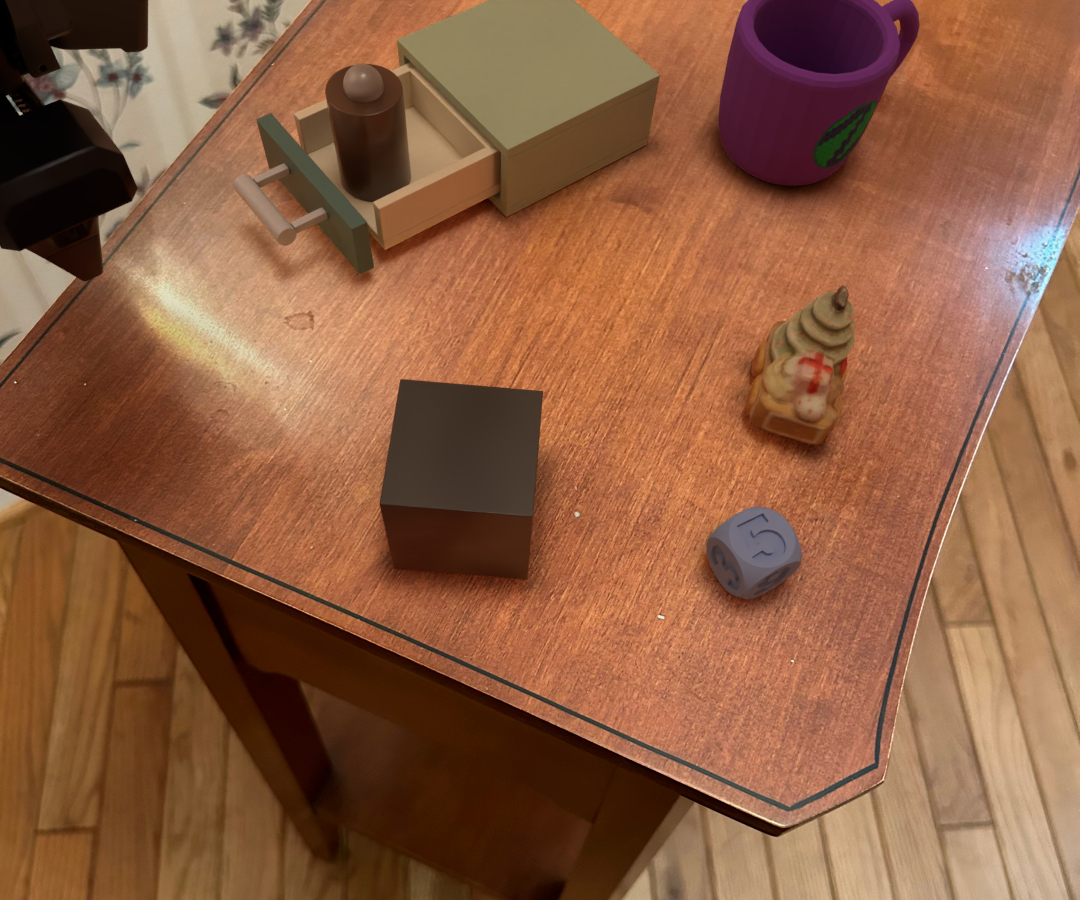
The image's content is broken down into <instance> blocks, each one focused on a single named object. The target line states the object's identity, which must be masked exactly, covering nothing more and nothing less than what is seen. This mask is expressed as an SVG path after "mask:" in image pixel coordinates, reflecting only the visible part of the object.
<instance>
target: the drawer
mask: <svg viewBox="0 0 1080 900" xmlns="http://www.w3.org/2000/svg"><path fill="white" fill-rule="evenodd" d="M391 71H392V72H393V73H394V74H396V76H397V77H398V78H399V79H400V81H401V83H402V87H403V95H404V106H405V116H406V127H407V137H408V147H409V158H410V168H411V180H410V183H409V185H407V186H405V187H403V188H401V189H399V190H397V191H395V192H393V193H391V194H388V195H386V196H384V197H382V198H380V199H378V200H376V201H374V202H369V201H364V200H360V199H358V198H355V197H354V196H352V195H351V194H349V193H348V192H347V191H346V190H345V188H344V187H343V185H342V182H341V178H340V172H339V167H338V161H337V156H336V150H335V145H334V139H333V134H332V128H331V122H330V117H329V111H328V106H327V100H326V98H325V99H323V100H321V101H318V102H316V103H314V104H312V105H309V106H308V107H305V108H303V109H300V110H298V111H296V112H293V117H294V121H295V126H296V131H297V137H298V140H299V143H298V142H297V141H296V139H295V138H294V136H292V135H291V133H289V131H288V130H287V129H286V128H285V127H284V126H283V125H282V124H281V122H280V121H279V120H278V119H277V117H275V116H274V115H273V113H272V112H269V113H267V114H265V115H262V116H260V117H258V118H256V119H255V120H256V124H257V128H258V131H259V136H260V140H261V143H262V147H263V151H264V154H265V159H266V162H267V166H268V170H266V171H263V172H261V173H259V174H256V175H254V176H253V177H251V175H249V174H246V173H242V174H240V175H238V176H237V177H236V178H235V179H234V180H233V184H232V185H233V189H234V191H235V192H236V193H237V194H238V196H239V197H240V198H241V199H242V201H243V202H244V203H245V204H246V205H247V207H248V208H249V209H250V210H251V212H252V213H253V214H254V215H255V216H256V218H257V219H258V220H259V221H260V223H261V224H262V225H263V226H264V227H265V228H266V230H267V231H268V232H269V234H270V235H271V236H272V237H273V239H275V241H276V242H277V243H278V244H279V245H280V246H282V247H287V246H290V245H291V244H293V243H294V241H295V240H296V239H297V235H298V234H299V233H301V232H303V231H305V230H307V229H309V228H311V227H313V226H315V225H317V227H318V228H319V229H320V230H321V232H323V233H324V235H325V236H326V237H327V238H328V239H329V240H330V242H331V243H332V244H333V245H334V247H335V248H336V249H337V250H338V251H339V252H340V253H341V255H342V256H343V257H344V258H345V260H346V261H347V262H348V263H349V264H350V265H351V266H352V268H353V269H354V270H355V271H356V273H358V274H359V276H361V275H364V274H365V273H367V272H369V271H371V270H373V269H374V268H375V262H374V258H373V257H374V256H373V250H372V244H371V238H370V235H371V236H372V237H373V238H374V239H375V241H376V242H377V243H378V244H379V245H380V246H381V248H382V249H383V250H385V251H386V250H388V249H390V248H393V247H394V246H396V245H398V244H400V243H402V242H404V241H406V240H408V239H410V238H411V237H414V236H416V235H418V234H420V233H421V232H423V231H426V230H427V229H429V228H431V227H434V226H436V225H437V224H439V223H441V222H444V221H446V220H447V219H449V218H451V217H453V216H456V215H457V214H460V213H461V212H463V211H465V210H467V209H469V208H472V207H473V206H476V205H477V204H479V203H481V202H483V201H484V200H486V199H488V198H489V197H491V196H493V195H495V194H497V193H499V192H500V191H501V152H500V151H499V150H498V149H497V148H496V147H495V146H494V145H493V144H492V143H491V142H490V141H489V140H488V139H487V138H486V137H485V136H484V135H483V134H482V133H481V132H480V131H479V130H478V129H477V128H476V127H475V126H474V125H473V124H472V123H471V122H470V121H469V120H468V119H467V118H466V117H465V116H464V115H463V114H462V113H461V112H460V111H459V110H458V109H457V108H456V107H455V106H454V105H453V104H452V103H451V102H450V101H449V100H448V99H447V98H446V97H445V96H444V95H443V94H442V93H441V92H440V91H439V90H438V89H437V88H436V87H435V86H434V85H433V84H432V83H431V82H430V81H429V80H428V79H427V78H426V77H425V76H424V75H423V74H422V73H421V72H420V71H419V70H418V69H417V68H416V67H415V66H414V65H413V64H412V63H411V62H410V63H407V64H405V65H403V66H401V67H399V66H398V67H396V68H394V69H391ZM276 181H279V182H280V184H282V185H283V187H284V188H285V189H286V190H287V192H289V193H290V195H291V196H292V197H293V199H295V201H296V202H297V203H298V204H299V205H300V207H301V208H302V209H303V210H304V211H305V212H306V213H307V214H304V215H303V216H300V217H298V218H296V219H294V220H292V221H288V220H287V218H286V217H285V216H284V215H283V214H282V213H281V211H280V210H279V208H278V207H277V206H276V204H274V202H272V201H271V199H270V198H269V197H268V196H267V195H266V193H265V192H264V191H263V189H262V188H263V187H266V186H268V185H270V184H272V183H275V182H276Z"/></svg>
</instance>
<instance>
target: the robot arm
mask: <svg viewBox="0 0 1080 900" xmlns="http://www.w3.org/2000/svg"><path fill="white" fill-rule="evenodd" d="M148 47H149V0H0V248H1V249H2V250H8V251H13V252H14V251H15V252H22V251H24V250H27V251H29V252H31V253H33V254H34V255H36V256H38V257H40V258H41V259H44V260H46V261H47V262H49V263H51V265H54V266H56V267H57V268H60V269H61V270H62V271H65V272H66V273H68V274H70V275H72V276H74V277H75V278H77V279H79V280H80V281H82V282H89V281H91V280H93V279H95V278H97V277H99V276H101V275H103V274H104V262H103V253H102V243H101V242H102V241H101V234H100V233H101V232H100V221H99V220H100V219H99V217H101V216H102V215H104V214H107V213H109V212H112V211H113V210H116V209H118V208H120V207H122V206H125V205H128V204H130V203H132V202H133V200H134V199H135V195H136V193H137V191H138V188H139V187H138V185H137V183H136V180H135V179H134V176H133V173H132V172H131V169H130V167H129V165H128V162H127V160H126V158H125V155H124V154H123V152H122V151H121V150H120V148H119V147H118V146H117V144H116V142H114V141H113V139H112V138H111V137H110V136H109V134H108V132H107V131H106V130H105V128H104V127H103V126H102V124H100V122H99V120H97V119H96V117H95V116H94V115H93V113H92V112H91V110H90V109H88V108H85V107H83V106H80V105H77V104H75V103H72V102H70V101H66V100H63V99H57V100H54V101H51V102H49V103H47V104H45V103H44V102H43V101H44V100H42V98H40V96H39V94H38V93H37V92H36V90H34V87H32V85H31V84H30V82H29V81H28V80H27V79H26V77H25V76H27V75H28V74H29V75H30V76H31V78H33V79H38V78H40V77H43V76H46V75H49V74H51V73H54V72H57V71H58V70H59V71H60V69H62V68H61V65H60V63H59V61H58V59H57V57H56V53H55V52H54V50H53V48H55V49H59V50H64V51H82V50H84V51H86V50H117V49H119V50H122V51H123V52H124V53H126V54H127V53H128V54H129V53H139V52H144V50H146V49H147V48H148ZM8 97H9V98H10V99H11V101H12V102H13V103H14V104H15V106H14V105H13V103H12V102H11V101H10V99H8ZM15 107H17V108H18V110H19V112H20V113H21V114H20V113H19V112H18V111H17V110H16V108H15Z"/></svg>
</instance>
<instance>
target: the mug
mask: <svg viewBox="0 0 1080 900" xmlns="http://www.w3.org/2000/svg"><path fill="white" fill-rule="evenodd" d="M897 21H899V31H898V27H897V25H896V23H895V22H897ZM920 25H921V23H920V16H919V11H918V9H917V7H916V5H915V4H914V2H913V0H890V1H889V2H887V3H885V4H884V5H881V4H880V3H879V2H878V1H876V0H746V1H745V3H743V5H742V6H741V8H740V11H739V14H738V16H737V19H736V23H735V27H734V31H733V35H732V39H731V43H730V46H729V50H728V54H727V59H726V63H725V64H726V65H725V70H724V75H723V81H722V84H721V91H720V96H719V104H718V137H719V139H720V143H721V144H722V147H723V150H724V152H725V154H726V155H727V156H728V157H729V159H730V160H731V161H732V162H733V164H734V165H736V166H737V167H739V168H740V169H741V170H742V171H744V172H745V173H747V174H748V175H750V176H752V177H755V178H756V179H759V180H761V181H764V182H766V183H771V184H775V185H779V186H790V187H793V186H794V187H795V186H803V185H811V184H814V183H817V182H820V181H822V180H825V179H827V178H829V177H830V176H831V175H832V174H834V173H835V172H837V171H838V170H839V169H840V168H841V167H843V165H844V164H845V162H846V161H847V159H848V158H849V157H850V156H851V154H852V153H853V152H854V150H855V148H856V147H857V145H858V144H859V142H860V141H861V139H862V137H863V135H864V134H865V132H866V131H867V128H868V126H869V123H870V122H871V121H872V120H871V119H872V118H873V116H874V113H875V111H876V109H877V107H878V105H879V103H880V101H881V100H882V97H883V95H884V93H885V90H886V88H887V85H888V83H889V81H890V79H891V78H892V76H893V75H894V74H895V73H896V71H898V69H899V68H900V66H901V65H902V64H903V62H904V60H905V59H906V57H907V56H908V54H909V52H910V51H911V49H912V47H913V46H914V44H915V42H916V41H917V38H918V34H919V29H920Z"/></svg>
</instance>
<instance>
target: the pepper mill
mask: <svg viewBox="0 0 1080 900" xmlns="http://www.w3.org/2000/svg"><path fill="white" fill-rule="evenodd" d="M324 94H325V99H326V100H327V106H328V111H329V117H330V122H331V128H332V134H333V139H334V145H335V150H336V156H337V161H338V167H339V172H340V178H341V182H342V185H343V187H344V188H345V190H346V191H347V192H348V193H349V194H351V195H352V196H354V197H355V198H358V199H360V200H364V201H369V202H374V201H376V200H378V199H380V198H382V197H384V196H386V195H388V194H391V193H393V192H395V191H397V190H399V189H401V188H403V187H405V186H407V185H409V183H410V180H411V168H410V158H409V147H408V137H407V127H406V116H405V106H404V95H403V87H402V83H401V81H400V79H399V78H398V77H397V76H396V74H394V73H393V72H392V70H390V69H389V68H387V67H384V66H381V65H378V64H373V63H356V64H351V65H348V66H345V67H342V68H341V69H339V70H337V71H336V72H334V73H333V74H331V76H330V77H329V79H328V80H327V82H326V85H325V88H324Z"/></svg>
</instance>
